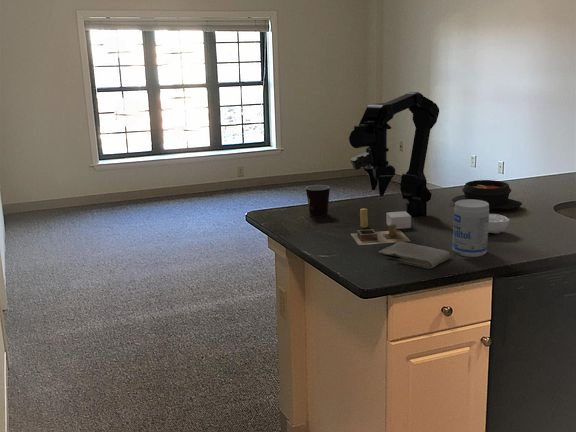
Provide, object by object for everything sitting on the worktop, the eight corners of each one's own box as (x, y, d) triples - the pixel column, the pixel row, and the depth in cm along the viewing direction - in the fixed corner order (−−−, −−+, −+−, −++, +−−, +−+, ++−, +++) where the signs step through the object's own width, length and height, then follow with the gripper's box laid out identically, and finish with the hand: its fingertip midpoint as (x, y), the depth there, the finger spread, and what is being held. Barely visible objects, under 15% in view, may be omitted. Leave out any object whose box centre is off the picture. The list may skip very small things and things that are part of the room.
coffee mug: (328, 217, 226) (328, 190, 223) (304, 217, 227) (303, 190, 225) (333, 209, 237) (332, 183, 234) (310, 209, 238) (309, 183, 236)
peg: (366, 228, 210) (366, 208, 208) (368, 230, 208) (368, 210, 206) (359, 229, 210) (359, 208, 208) (361, 231, 208) (361, 210, 206)
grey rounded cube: (405, 225, 211) (405, 211, 210) (411, 231, 205) (411, 216, 204) (386, 227, 211) (386, 212, 209) (391, 232, 205) (391, 217, 203)
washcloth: (397, 248, 191) (397, 238, 190) (452, 259, 179) (453, 248, 178) (375, 259, 182) (375, 249, 181) (432, 271, 170) (432, 260, 170)
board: (399, 233, 203) (399, 219, 202) (410, 244, 192) (410, 229, 190) (350, 237, 202) (350, 223, 200) (358, 248, 190) (358, 233, 189)
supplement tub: (446, 254, 182) (447, 204, 178) (461, 245, 189) (462, 197, 185) (478, 260, 176) (480, 208, 172) (492, 251, 183) (494, 201, 179)
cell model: (501, 240, 192) (502, 218, 191) (464, 233, 200) (464, 213, 198) (514, 231, 200) (515, 211, 198) (478, 226, 207) (478, 206, 206)
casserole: (530, 205, 229) (531, 182, 227) (508, 217, 216) (509, 193, 214) (466, 197, 245) (466, 175, 243) (442, 207, 232) (442, 185, 230)
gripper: (345, 142, 209) (346, 188, 213) (360, 150, 191) (360, 200, 195) (378, 140, 210) (378, 186, 214) (396, 148, 192) (395, 198, 196)
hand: (377, 192), depth 205 cm, fingers open, 9 cm apart
